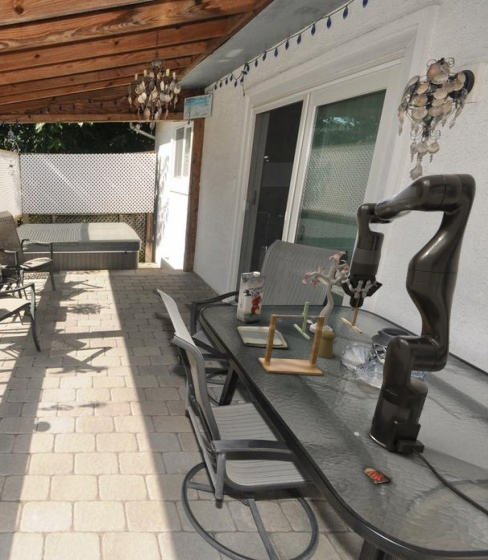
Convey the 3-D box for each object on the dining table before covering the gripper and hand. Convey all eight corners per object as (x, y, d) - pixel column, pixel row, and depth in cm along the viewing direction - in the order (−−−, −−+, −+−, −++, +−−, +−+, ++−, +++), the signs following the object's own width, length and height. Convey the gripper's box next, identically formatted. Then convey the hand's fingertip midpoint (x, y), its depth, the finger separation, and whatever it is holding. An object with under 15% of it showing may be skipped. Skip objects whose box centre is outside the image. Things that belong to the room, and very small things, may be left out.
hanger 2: (362, 333, 124) (370, 300, 120) (359, 333, 125) (367, 300, 121) (342, 319, 136) (349, 288, 132) (339, 319, 136) (347, 288, 132)
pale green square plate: (244, 346, 160) (244, 339, 159) (236, 329, 176) (237, 323, 176) (289, 349, 156) (290, 343, 155) (277, 332, 172) (278, 326, 171)
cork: (335, 358, 147) (340, 335, 144) (319, 357, 149) (324, 334, 145) (328, 351, 153) (333, 328, 150) (313, 350, 154) (317, 327, 151)
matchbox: (392, 479, 90) (392, 478, 90) (380, 487, 88) (380, 485, 88) (371, 466, 94) (371, 465, 94) (359, 473, 92) (359, 471, 92)
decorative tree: (280, 318, 188) (291, 245, 177) (326, 319, 186) (341, 244, 174) (307, 342, 162) (323, 258, 150) (362, 343, 160) (382, 257, 148)
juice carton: (233, 318, 190) (239, 270, 182) (249, 315, 193) (255, 268, 185) (245, 324, 182) (252, 274, 174) (262, 321, 185) (269, 272, 177)
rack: (322, 375, 136) (333, 321, 129) (267, 372, 139) (275, 320, 132) (309, 362, 145) (319, 311, 139) (258, 359, 148) (265, 310, 142)
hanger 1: (310, 339, 132) (316, 308, 128) (307, 339, 132) (313, 308, 128) (295, 325, 143) (301, 296, 139) (293, 325, 143) (298, 296, 139)
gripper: (350, 263, 120) (341, 310, 125) (394, 263, 118) (383, 311, 123) (338, 258, 127) (329, 302, 132) (379, 258, 125) (369, 303, 130)
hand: (355, 306), depth 128 cm, fingers closed on hanger 2, 1 cm apart
